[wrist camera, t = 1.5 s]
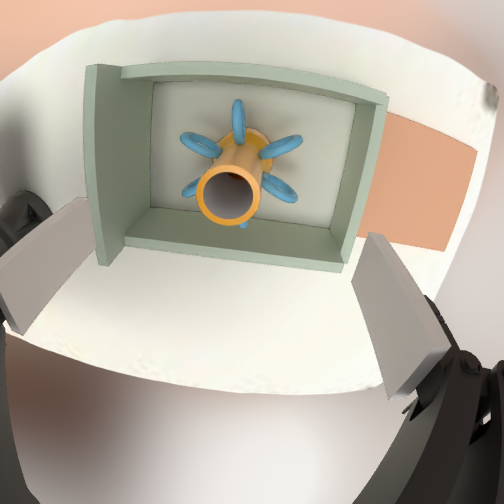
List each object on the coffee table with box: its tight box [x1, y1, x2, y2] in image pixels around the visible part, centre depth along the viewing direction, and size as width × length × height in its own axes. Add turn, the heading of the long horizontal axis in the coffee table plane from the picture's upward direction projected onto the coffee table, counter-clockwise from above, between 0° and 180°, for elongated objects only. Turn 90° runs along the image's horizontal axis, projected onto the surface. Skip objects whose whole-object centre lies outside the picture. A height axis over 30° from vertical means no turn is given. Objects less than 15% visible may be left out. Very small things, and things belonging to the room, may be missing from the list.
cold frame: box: [83, 62, 389, 273], centre depth 24 cm, size 25×18×12 cm
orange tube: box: [180, 99, 303, 229], centre depth 23 cm, size 12×10×15 cm
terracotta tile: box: [356, 112, 478, 252], centre depth 29 cm, size 16×16×1 cm
